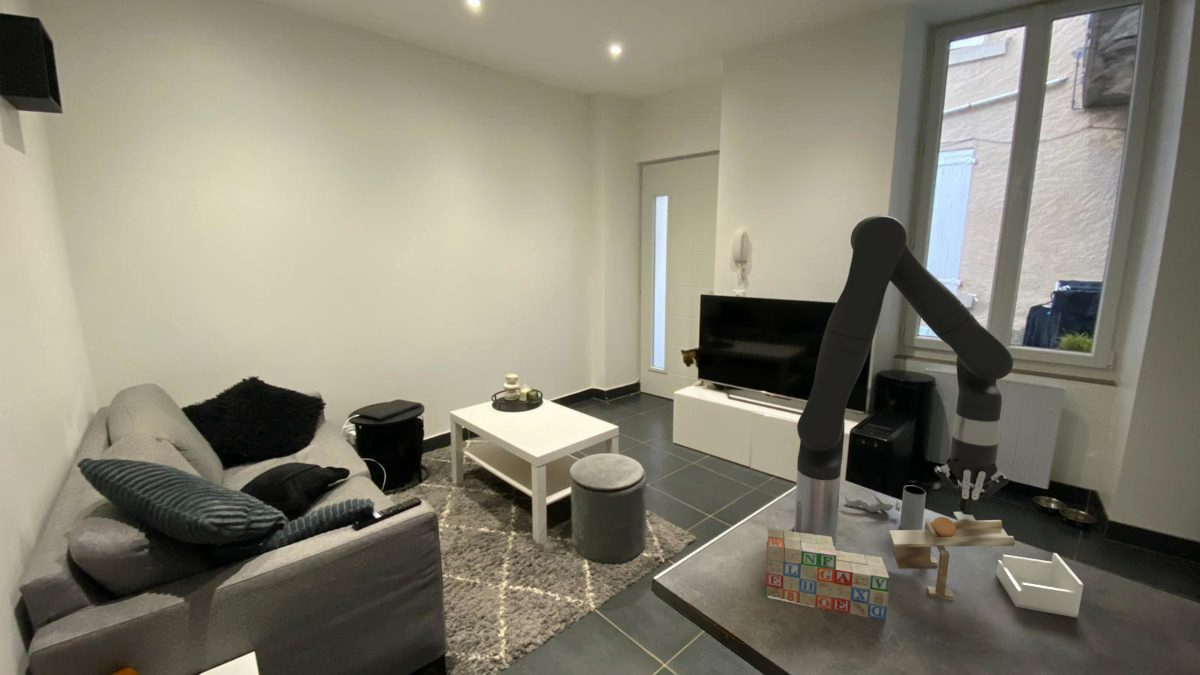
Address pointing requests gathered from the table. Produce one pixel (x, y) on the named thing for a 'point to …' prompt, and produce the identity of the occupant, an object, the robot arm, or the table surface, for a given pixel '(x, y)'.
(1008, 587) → the white open box
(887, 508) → the soldier figure
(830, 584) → the stack of blocks
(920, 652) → the table surface
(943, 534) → the ball
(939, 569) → the lever stand
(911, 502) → the planter
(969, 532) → the lever
